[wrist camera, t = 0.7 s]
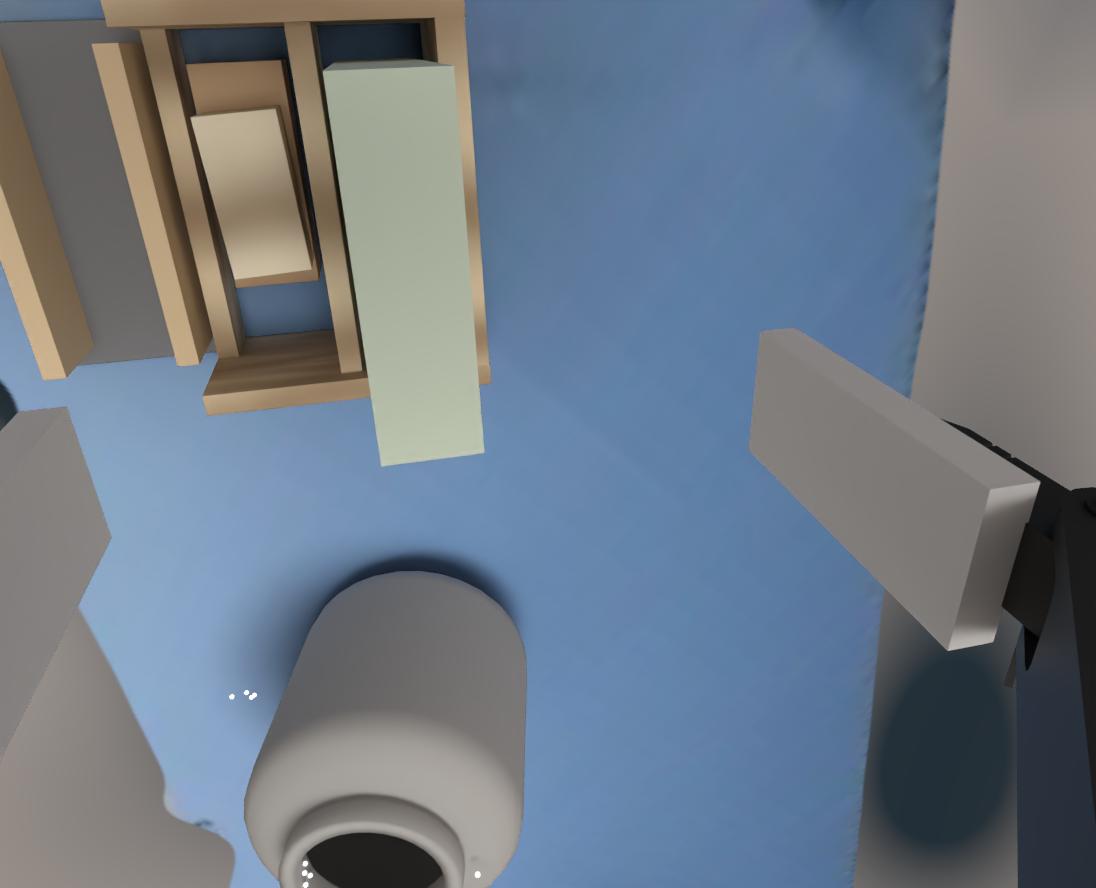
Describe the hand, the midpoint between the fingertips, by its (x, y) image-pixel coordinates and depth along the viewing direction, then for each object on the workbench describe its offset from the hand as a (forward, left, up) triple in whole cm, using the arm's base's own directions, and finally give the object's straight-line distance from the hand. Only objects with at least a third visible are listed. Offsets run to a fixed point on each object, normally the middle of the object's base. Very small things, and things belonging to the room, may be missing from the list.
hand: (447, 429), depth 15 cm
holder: (0, -14, -30) cm, 33 cm away
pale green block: (0, 0, -30) cm, 30 cm away
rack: (0, -3, -30) cm, 30 cm away
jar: (+30, -4, -30) cm, 43 cm away
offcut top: (-1, -6, -27) cm, 27 cm away
